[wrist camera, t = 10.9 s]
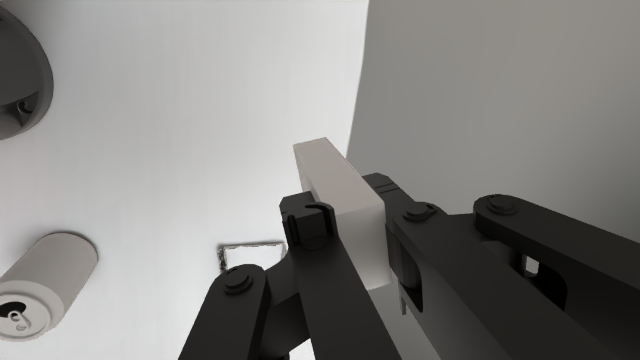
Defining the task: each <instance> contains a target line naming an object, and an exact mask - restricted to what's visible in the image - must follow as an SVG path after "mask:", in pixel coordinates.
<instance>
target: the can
mask: <svg viewBox="0 0 640 360" xmlns="http://www.w3.org/2000/svg"><path fill="white" fill-rule="evenodd" d="M96 264H97V254H96V252H95V250H94V248H93V247H92V246H91V245H90V244H89V243H88V242H87V241H86V240H84V239H82V238H80V237H79V236H75V235H72V234H67V233H56V234H51V235H47V236H45V237H44V238H42V239H40V240H39V241H38V242H37V243H36V244H35V245H34V246H32V247H31V248H30V249H29V250H28V251H27V252H26V253H25V254H24V255H23V256H22V257H21V258H20V259H19V260H18V261H17V262H16V263H15V264H14V265H13V266H12V267H11V268H10V269H9V270H8V271H7V272H6V273H5V274H4V275H3V276H2V277H1V278H0V339H1V340H5V341H11V342H24V341H29V340H33V339H36V338H38V337H39V336H41V335H43V334H44V333H45V332H47V331H49V330H51V329H53V328H55V327H56V326H57V325H58V323H59V322H60V321H61V320H62V319H63V317H64V316H65V314H66V313H67V311H68V309H69V308H70V306H71V305H72V303H73V302H74V300H75V299H76V297H77V296H78V294H79V292H80V291H81V289H82V288H83V286H84V285H85V283H86V282H87V280H88V279H89V277H90V275H91V274H92V272H93V271H94V269H95V267H96Z"/></svg>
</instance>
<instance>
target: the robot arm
mask: <svg viewBox="0 0 640 360" xmlns="http://www.w3.org/2000/svg"><path fill="white" fill-rule="evenodd" d="M52 94H53V77H52V72H51V68H50V65H49V62H48V59H47V57H46V55H45V53H44V51H43V49H42V47H41V46H40V44H39V43H38V41H37V40H36V38H35V37H34V36H33V35H32V33H31V32H30V31H29V30H28V29H27V28H26V27H25V26H24V25H23V24H22V23H21V22H20V21H19V20H18V19H17V18H16V17H14V16H13V15H12V14H11V13H9V12H8V11H7V10H5V9H4V8H2V7H1V6H0V140H4V139H7V138H10V137H12V136H15V135H17V134H19V133H22V132H24V131H26V130H28V129H30V128H31V127H33V126H34V125H35V124H36V123H38V122H39V121H40V120H41V118H42V117H43V116H44V115H45V113H46V111H47V110H48V108H49V105H50V103H51V99H52ZM293 149H294V153H295V158H296V162H297V167H298V172H299V176H300V181H301V186H302V190H303V193H299V194H295V195H291V196H287V197H283V199H282V201H281V203H280V205H279V207H280V211H281V215H282V223H283V227H284V231H285V235H286V239H287V243H288V251H287V254H286V255H285V256H284V258H283V259H282V260H281V261H280V262H278V263H277V264H275V265H274V266H272V267H271V268H269V269H267V270H265V271H264V270H263V269H262V267H260V266H257V265H255V264H243V265H239V266H235V267H233V268H231V269H229V270H227V271H224V272H223V273H222V274H221V275H219V276H218V277H217V278H216V279H215V280H214V282H213V283H212V285H211V286H210V288H209V291H208V293H207V295H206V297H205V300H204V302H203V304H202V306H201V309H200V311H199V313H198V315H197V318H196V320H195V322H194V324H193V327H192V329H191V331H190V333H189V336H188V338H187V340H186V342H185V345H184V347H183V349H182V351H181V354H180V356H179V358H178V360H290V355H289V352H290V351H291V350H293V349H294V348H296V347H297V346H299V345H300V344H302V343H303V342H305V341H306V340H308V339H309V338H310V339H311V343H312V347H313V351H314V356H315V360H402V359H401V357H400V355H399V353H398V351H397V349H396V347H395V345H394V343H393V341H392V339H391V337H390V335H389V333H388V331H387V329H386V327H385V325H384V323H383V321H382V319H381V317H380V315H379V314H378V312H377V310H376V308H375V306H374V304H373V302H372V300H371V298H370V296H369V294H368V292H367V290H370V289H374V288H377V287H380V286H383V285H387V284H390V283H392V273H391V268H392V270H393V271H394V273H395V274H396V276H397V277H398V285H399V297H400V307H401V311H402V315H405V314H406V304H407V306H408V307H409V309H410V311H411V312H412V314H413V315H414V317H415V319H416V320H417V321H418V323H419V325H420V326H421V328H422V329H423V331H424V333H425V334H426V336H427V338H428V339H429V341H430V342H431V344H432V346H433V347H434V349H435V350H436V352H437V354H438V355H439V357H440V358H441V360H640V243H637V242H635V241H632V240H630V239H627V238H624V237H622V236H619V235H616V234H614V233H611V232H608V231H605V230H603V229H600V228H597V227H595V226H592V225H589V224H587V223H584V222H582V221H579V220H576V219H574V218H571V217H568V216H566V215H563V214H560V213H558V212H555V211H552V210H549V209H547V208H544V207H542V206H539V205H536V204H534V203H531V202H528V201H525V200H523V199H520V198H517V197H513V196H509V195H501V194H495V195H487V196H484V197H481V198H479V199H478V200H476V201H475V203H474V206H473V213H470V214H457V215H448V214H447V213H445V212H444V211H443V210H442V209H441V208H439V207H437V206H436V205H434V204H431V203H426V202H415V201H414V200H413V199H412V198H411V197H410V196H409V195H407V194H406V193H405V192H404V191H403V190H402V189H400V187H399V186H398V185H397V184H395V183H394V182H393V181H392V180H391V179H390V178H389V177H388V176H385V175H382V174H379V173H374V174H369V175H365V176H362V177H361V176H360V175H359V174H358V172H357V171H356V170H355V169H354V168H353V167H352V166H351V165H350V164H349V162H348V161H347V160H346V159H345V158H344V157H343V156H342V155H341V153H340V152H339V151H338V150H337V149H336V148H335V147H334V146H333V144H332V143H331V142H330V141H329V140H328V139H327V138H326V137H324V138H320V139H316V140H311V141H307V142H303V143H299V144H294V145H293ZM527 256H529V257H530V258H532V259H534V260H536V261H538V262H539V267H538V273H537V274H534V273H531V272H529V271H527V270H526V261H527Z"/></svg>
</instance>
